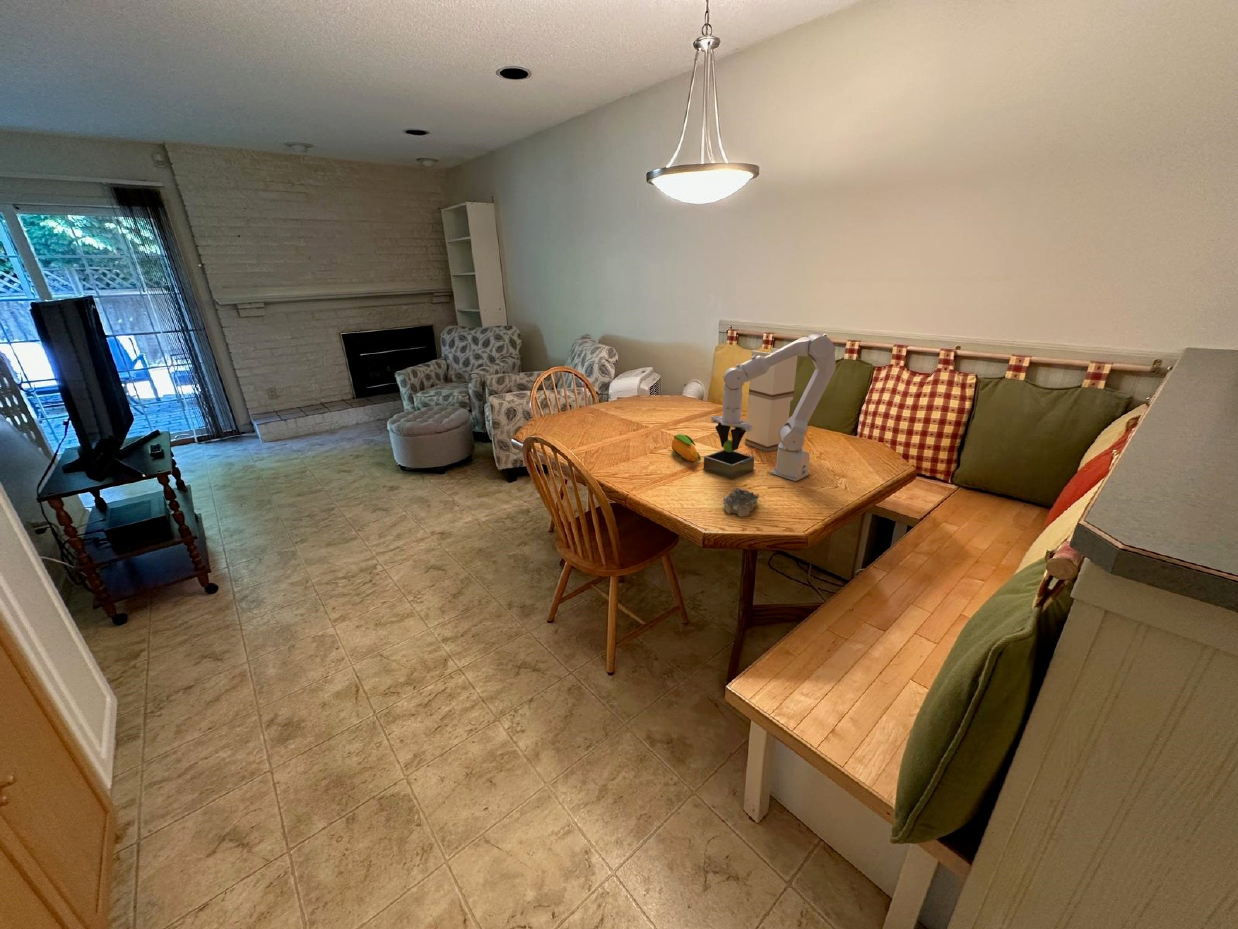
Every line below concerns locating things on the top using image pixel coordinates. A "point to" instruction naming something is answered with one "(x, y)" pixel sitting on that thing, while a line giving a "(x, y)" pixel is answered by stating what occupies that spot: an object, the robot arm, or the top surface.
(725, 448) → the pea
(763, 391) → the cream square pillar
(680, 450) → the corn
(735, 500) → the gray rock
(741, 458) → the dark grey open box
